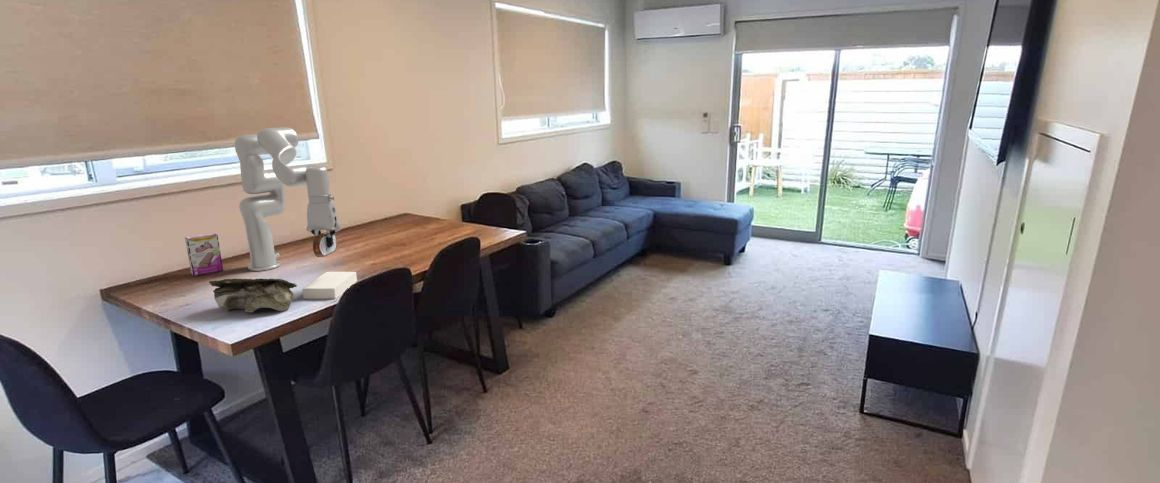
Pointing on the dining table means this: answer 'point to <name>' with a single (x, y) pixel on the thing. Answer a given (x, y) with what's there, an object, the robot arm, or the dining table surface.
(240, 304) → the hollow geode rock
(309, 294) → the plinth
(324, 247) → the tin
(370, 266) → the dining table surface
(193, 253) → the candy bar box
